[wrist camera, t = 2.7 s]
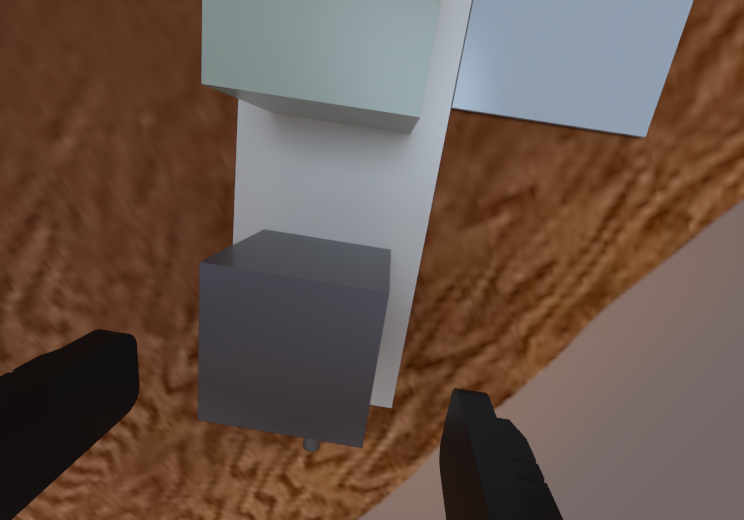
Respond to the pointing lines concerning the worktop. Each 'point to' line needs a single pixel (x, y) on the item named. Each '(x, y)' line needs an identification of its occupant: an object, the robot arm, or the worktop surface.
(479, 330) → the worktop surface
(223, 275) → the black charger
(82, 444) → the robot arm
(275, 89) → the block
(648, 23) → the blue tile
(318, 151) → the power strip
